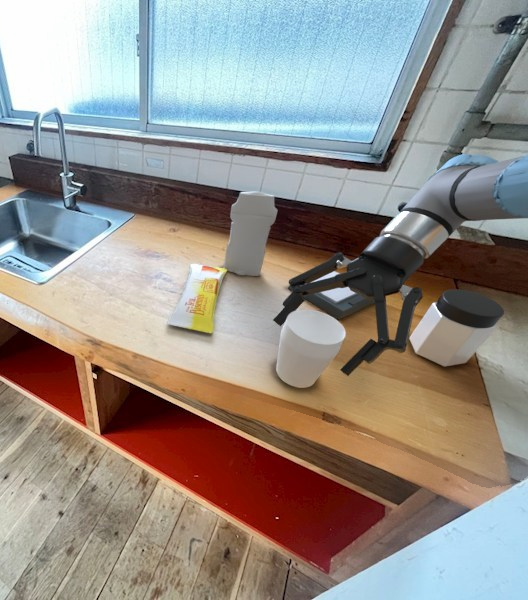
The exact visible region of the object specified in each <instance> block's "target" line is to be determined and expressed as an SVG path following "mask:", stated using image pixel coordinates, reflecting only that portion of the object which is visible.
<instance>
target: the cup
mask: <svg viewBox="0 0 528 600" xmlns="http://www.w3.org/2000/svg"><path fill="white" fill-rule="evenodd" d="M346 335H347V334H346V329H345V327H344V325H343V323H341V322H340V321H339V320H337V319H336V317H334V316H333V315H331V314H329V313H328V314H327V313H325V312H323V311H319V310H315V309H309V308H308V309H307V308H302V309H301V308H300V309H296V311H293V312H291V313H290V314H289V315H288V317H287V319H286V321H285V323H284V324H283V325H282V327H281V329H280V336H279V343H278V351H277V359H276V365H275V372H276V375H277V376H278V377H279V379H280V380H282V381H283V382H284V383H286V384H287V385H289V386H291V387H294V388H300V389H306V388H309V387H312V386H313V385H314V384H315V383H316V382H317V380H318V379H319V377H320V376H321V375H322V374H323V373H324V372H325V370H326V369H327V368H328V366H329V365H330V364H331V363H332V361H334V359H335V358H336V357H337V355H338V354H339V352H340V350H341V348H342V345H343V343H344V340H345V338H346Z"/></svg>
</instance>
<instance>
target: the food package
mask: <svg viewBox="0 0 528 600" xmlns="http://www.w3.org/2000/svg"><path fill="white" fill-rule="evenodd" d="M189 265H190V266H189V274H188V278H187V281H186V284H185V286H184V289H183V292H182V293H181V296H180V299H179V301H178V303H177V305H176V307H175V309H174V311H173V313H172V314H171V315H170V316H169V318H168V319H167V322H166V324H167V326H173V327H174V326H175V327H178V328H184V329H188V330H194V331H198V332H201V333H203V332H204V333H206V334H213V333H214V329H215V324H214V315H215V311H216V310H215V309H216V304H217V300H218V296H219V292H220V288H221V285H222V282H223V280H224V277H225V275H226V274H227V272H228V271H227V269H225V268H223V267H217V266H211V265H203V264H197V263H191V264H189Z"/></svg>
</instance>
